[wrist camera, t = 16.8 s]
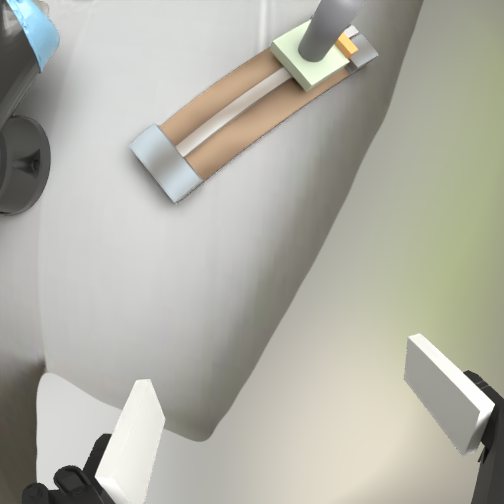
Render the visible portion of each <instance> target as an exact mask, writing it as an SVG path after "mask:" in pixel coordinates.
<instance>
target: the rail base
mask: <svg viewBox="0 0 504 504" xmlns="http://www.w3.org/2000/svg"><path fill="white" fill-rule="evenodd" d="M313 16H314V15H312V16H311V18H310V20H311V19H312V18H313ZM350 25H351V23H350V24H349V25H348V27H349V26H350ZM348 27H347V28H348ZM347 28H346V29H347ZM350 40H351V42H352V43H353V44H354V45H355V46H356V47H357V49H358V51H357V52H356V53H355V54H354V55H353V56H352V57H351V58H350V59H349V61H350V62H349V63H348V64H347V65H346V66H345V67H344V68H343V69H341V70H340V71H338V72H337V73H335V74H333V75H332V76H330V77H329V78H327V79H326V80H324V81H323V82H321V83H320V84H318V85H317V86H315V87H314V88H312V89H311V90H309V91H308V92H306V91H305V90H304V89H303V88H302V86H301V85H300V84H299V83H298V82H297V80H296V79H295V78H294V77H293V76H292V75H291V73H290V72H289V71H288V70H287V69H286V68H285V67H284V65H283V64H282V63H281V62H280V61H279V60H278V59H277V58H276V57H275V55H274V54H273V53H272V52H271V51H270V49H271V47H269V48H268V49H266V50H264V51H263V52H261V53H260V54H258V55H257V56H255V57H253V58H252V59H250V60H249V61H247V62H246V63H244V64H243V65H241V66H240V67H238V68H237V69H235V70H234V71H233V72H231V73H230V74H228V75H227V76H225V77H224V78H222V79H221V80H220V81H218V82H217V83H216V84H214V85H213V86H211V87H210V88H209V89H207V90H206V91H205V92H203V93H202V94H201V95H199V96H198V97H197V98H195V99H194V100H193V101H191V102H190V103H189V104H188V105H186V106H185V107H184V108H182V109H181V110H180V111H179V112H177V113H176V114H175V115H174V116H173V117H171V118H170V119H169V120H168V121H166V122H165V123H164V124H163V125H162V126H160V127H159V126H158V125H156V124H155V123H153V124H152V125H151V126H150V127H149V128H148V129H146V130H145V131H144V132H143V133H142V134H141V135H140V136H139V137H137V138H136V139H135V140H134V141H133V142H132V143H131V144H130V145H129V147H130V148H131V149H132V151H133V152H134V153H135V154H136V156H137V157H138V158H139V160H140V161H141V162H142V163H143V165H144V166H145V167H146V168H147V170H148V171H149V172H150V173H151V175H152V176H153V177H154V178H155V180H156V181H157V182H158V183H159V185H160V186H161V187H162V188H163V190H164V191H165V192H166V193H167V195H168V196H169V197H170V198H171V199H172V201H173V202H174V203H176V202H178V201H181V200H182V199H183V198H185V197H186V196H187V195H188V194H189V193H191V192H192V191H193V190H194V189H195V188H197V187H198V186H199V185H200V184H202V183H203V182H204V181H205V180H206V179H208V178H209V177H210V176H211V175H213V174H214V173H215V172H216V171H218V170H219V169H220V168H221V167H223V166H224V165H225V164H226V163H228V162H229V161H230V160H232V159H233V158H234V157H235V156H237V155H238V154H239V153H241V152H242V151H243V150H244V149H246V148H247V147H248V146H250V145H251V144H252V143H254V142H255V141H256V140H258V139H259V138H260V137H262V136H263V135H264V134H266V133H267V132H268V131H270V130H271V129H273V128H274V127H275V126H277V125H278V124H279V123H281V122H282V121H284V120H285V119H286V118H288V117H289V116H291V115H292V114H293V113H295V112H296V111H298V110H299V109H300V108H302V107H303V106H305V105H306V104H308V103H309V102H311V101H312V100H313V99H315V98H316V97H318V96H319V95H321V94H322V93H324V92H325V91H327V90H328V89H330V88H331V87H333V86H334V85H336V84H337V83H339V82H340V81H342V80H343V79H345V78H347V77H348V76H350V75H351V74H353V73H354V72H356V71H358V70H359V69H361V68H362V67H364V66H366V65H367V64H368V63H369V62H371V61H372V60H373V59H374V58H375V57H377V56H378V53H377V52H376V51H375V50H374V48H373V47H372V46H371V45H370V44H369V42H368V41H367V40H366V39H365V38H364V37H363V35H362V34H361V35H360V36H358V37H356V38H354V39H350Z"/></svg>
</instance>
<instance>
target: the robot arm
mask: <svg viewBox="0 0 504 504" xmlns="http://www.w3.org/2000/svg"><path fill="white" fill-rule="evenodd" d="M59 42H60V35H59V32H58V30H57V28H56V27H55V25H54V24H53V23H52V21H51V20H50V19H49V18H48V17H47V16H46V15H45V13H44V12H43V11H42V10H41V9H40V8H39V7H38V6H37V5H36V4H35V3H34V2H33V1H32V0H0V214H1V215H12V214H17V213H21V212H23V211H25V210H27V209H28V208H30V207H31V206H32V205H33V204H34V203H35V202H36V201H37V199H38V198H39V197H40V195H41V193H42V191H43V189H44V187H45V185H46V182H47V179H48V175H49V170H50V147H49V142H48V139H47V136H46V134H45V132H44V130H43V128H42V127H41V126H40V125H39V124H38V123H37V122H36V121H34V120H33V119H31V118H27V117H23V116H11V115H12V114H13V112H14V110H15V109H16V107H17V105H18V104H19V102H20V101H21V99H22V98H23V96H24V95H25V93H26V92H27V90H28V89H29V87H30V86H31V84H32V83H33V81H34V80H35V78H36V77H37V76H38V74H41V73H42V72H43V70H44V66H45V65H46V63H47V62H48V60H49V59H50V57H51V56H52V55H53V53H54V52H55V51H56V49H57V47H58V45H59ZM404 380H405V381H406V382H407V384H408V385H409V386H410V388H411V389H412V390H413V392H414V393H415V394H416V395H417V397H418V398H419V399H420V401H421V402H422V403H423V405H424V406H425V407H426V408H427V410H428V411H429V412H430V414H431V415H432V416H433V418H434V419H435V420H436V422H437V423H438V424H439V426H440V427H441V428H442V430H443V431H444V432H445V434H446V435H447V436H448V438H449V439H450V440H451V442H452V443H453V444H454V446H455V447H456V449H457V450H458V451H459V453H460V454H461V455H462V457H465V456H467V455H469V454H470V453H473V452H475V451H476V450H477V448H478V446H479V443H480V442H482V443H483V444H484V445H485V447H484V449H483V451H482V453H481V456H480V458H479V460H478V462H480V460H481V463H480V468H479V473H478V477H477V482H476V486H475V491H474V495H473V498H472V502H471V504H504V399H503V398H502V397H501V396H500V395H499V394H498V393H497V392H496V391H495V390H494V389H493V388H491V386H489V385H488V384H487V383H486V382H485V381H483V379H482V378H481V377H479V375H477V374H475V373H473V372H471V371H469V370H468V371H466V372H463V373H462V372H461V371H460V370H459V369H458V368H457V367H456V366H455V365H454V364H453V363H451V361H450V360H449V359H447V358H446V357H445V356H444V355H443V354H442V353H441V352H440V351H439V350H438V349H437V348H436V347H434V346H433V345H432V344H431V343H430V342H429V341H428V340H427V339H426V338H425V337H424V336H422V335H421V334H420V333H419V334H416V335H412V336H409V337H408V342H407V355H406V364H405V375H404ZM164 423H165V417H164V415H163V412H162V409H161V407H160V404H159V402H158V399H157V396H156V393H155V391H154V388H153V385H152V382H151V380H150V379H144V380H136V382H135V384H134V386H133V389H132V391H131V393H130V395H129V397H128V400H127V402H126V404H125V406H124V409H123V411H122V413H121V415H120V418H119V420H118V422H117V424H116V427H115V429H114V431H113V434H103V435H102V436H101V437H99V439H98V440H96V442H95V444H94V447H93V450H92V451H91V453H90V457H88V460H87V462H86V464H85V466H84V468H83V471H82V470H81V469H80V468H78V467H76V466H70V465H69V466H65V467H62V468H61V469H59V470H58V471H57V472H56V473H55V476H54V478H53V479H54V483H55V485H56V486H57V487H58V488H59V490H48V489H47V487H46V486H45V485H44V484H41V483H32V484H30V485H28V486H27V487H26V488H25V489H24V490H23V494H22V504H144V503H145V499H146V494H147V490H148V485H149V482H150V478H151V474H152V470H153V465H154V461H155V458H156V454H157V450H158V446H159V442H160V437H161V434H162V430H163V426H164Z"/></svg>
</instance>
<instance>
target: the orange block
mask: <svg viewBox="0 0 504 504" xmlns="http://www.w3.org/2000/svg"><path fill="white" fill-rule="evenodd" d="M358 33H359V32H358V31H357V30H356V28H355V27H354V26H351V27H349V28H347V29H345V30H344V32H343V33H342V34H341V36H340V37H339V38H338V40H337V41H336V42H335V45H336V46H337V47H338V48H339V50H340V51H341V52H342V53H343V54H344V55H345V57H346V58H347V59H348V60H349V59H350V58H351V57H352V56H353V55H354V54H355V53H356V52H357V51H358V49H357V47H356V46H355V45H354V44H353V43H352V42H351V40H350V39H351V38H352V37H354V36H356V35H357V34H358Z"/></svg>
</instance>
